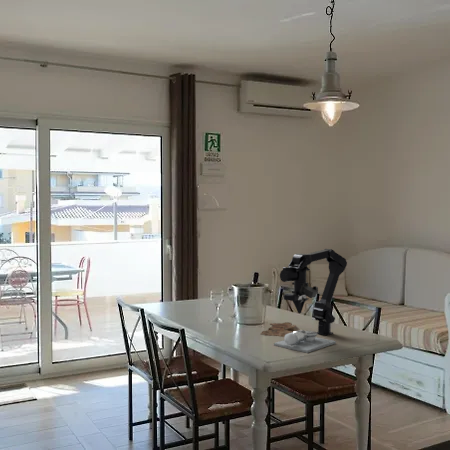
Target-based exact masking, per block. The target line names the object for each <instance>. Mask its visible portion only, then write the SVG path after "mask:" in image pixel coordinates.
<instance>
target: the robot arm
mask: <svg viewBox="0 0 450 450" xmlns="http://www.w3.org/2000/svg"><path fill="white" fill-rule="evenodd" d="M322 260H326V262H327V263H328V271H329V273H328V277H327V279H326V282H325V285H324V289H323V291H322V295H321V299H319V301H315V302H314V304H313V306H314V307H312V314H313V316H314V319H315V321H317V322H318V325H317V327H318V328H317V331H316V332H317V335H323V336H330V335H333V334H334V332H333V331H331V329H332V325H331V324H333V323H334V322H335V320H336V317H335V316H334V315H333V313H332V311H333V308H332V305H331V303H332V300H333V297H334V294H335V290H336V286H337V284H338V281H339V278H340V275H342V273H344V271H345V269H346V267H347V266H348V261H347V259H346V258H345V257H343V256H342V255H340V254H339V253H337V252H336V251H335V250H333V249H332V248H323V249H321V250H318V251H313V252H310V253H295V254H293V256H292V258H291V260H290V262H289V263H288V265H287V267H286V266H282V270H281V271H280V273H279V279H280V280H281V282H283V283H286V282H287V283H289V282H291V284H292V285H291V286H293V290H292V291H291V292H287V293H286V292H285V293H284V294H283V300H284V301H292V302H293V304H294V307H295V309H296V312H297V313H298V314H301V313H302V311H303V307H304V305H305V303H306V302H307V301H308V300H309V299H313V298H316V296H317V294H319V287H318V286H316V285H314V286H313V287H312V286H309V282H307V272H308V271H309V272H310V271H311V270H310V268H309V267H308V266H309V265H311V264H312V263H313V262H317V261H322Z"/></svg>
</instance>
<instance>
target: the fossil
mask: <svg viewBox="0 0 450 450" xmlns="http://www.w3.org/2000/svg"><path fill="white" fill-rule="evenodd" d="M269 325H270V326H271V327H269V328H268V329H267V330H262V331H261V332H260V335H262V336H268V337H270V336H272V337H280V338H281V337H283V338H284V337H285V335H286V334H289V333H292V332H295V331H299V330H301V329H300V328H299V327H298V326H297V325H296V324H292V322H282V323H280V322H277V323H275V322H274V323H269Z"/></svg>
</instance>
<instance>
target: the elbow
mask: <svg viewBox="0 0 450 450" xmlns="http://www.w3.org/2000/svg"><path fill="white" fill-rule="evenodd" d="M317 332H318V331H314V330H305V329H300V330H299V331H295V332H292V333H295V334H296V336H297V342H296V343H298V342H302V341H305V340H306V339H307V336H309V337H311V336H315V337H317V335H318V334H317Z"/></svg>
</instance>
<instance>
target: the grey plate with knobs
mask: <svg viewBox="0 0 450 450" xmlns="http://www.w3.org/2000/svg"><path fill="white" fill-rule="evenodd" d="M283 339H284V340H280V341H277V342H274V343H273V346H275V347H280V348H283V349H284V348H285V349H289V350H293V351H297V352H302V353H306V354H308V353H310V352H314V351H317V350H319V349H323V348H326V347H328V346H329V347H330V346H332V345H335V344H337V341H335V340H331V339H327V338H322V337H317V336H311V337H309V336H307V339H306V340H305V341H302V342H298V343H296V342H297V336H296V334H295V333H289V334H286V335H285V337H283Z"/></svg>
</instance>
